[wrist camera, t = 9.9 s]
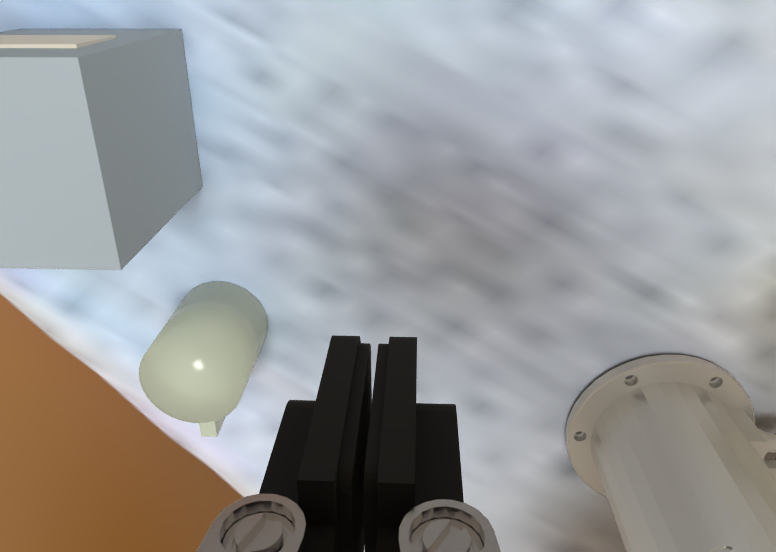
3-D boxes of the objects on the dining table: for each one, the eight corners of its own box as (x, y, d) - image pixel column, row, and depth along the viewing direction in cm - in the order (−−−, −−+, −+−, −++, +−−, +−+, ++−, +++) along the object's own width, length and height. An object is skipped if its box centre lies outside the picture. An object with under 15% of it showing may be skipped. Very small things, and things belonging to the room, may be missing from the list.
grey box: (181, 26, 35) (76, 53, 25) (202, 186, 39) (121, 269, 29) (21, 25, 36) (-151, 52, 25) (58, 184, 40) (-76, 266, 29)
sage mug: (264, 281, 42) (236, 337, 36) (274, 385, 46) (250, 453, 39) (173, 280, 42) (130, 335, 36) (190, 383, 46) (154, 450, 40)
